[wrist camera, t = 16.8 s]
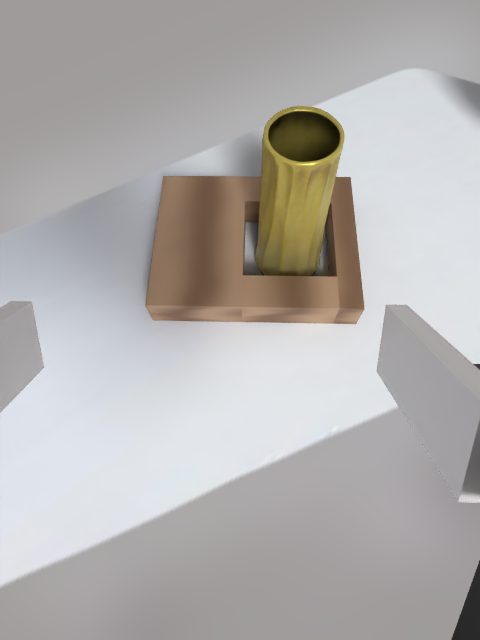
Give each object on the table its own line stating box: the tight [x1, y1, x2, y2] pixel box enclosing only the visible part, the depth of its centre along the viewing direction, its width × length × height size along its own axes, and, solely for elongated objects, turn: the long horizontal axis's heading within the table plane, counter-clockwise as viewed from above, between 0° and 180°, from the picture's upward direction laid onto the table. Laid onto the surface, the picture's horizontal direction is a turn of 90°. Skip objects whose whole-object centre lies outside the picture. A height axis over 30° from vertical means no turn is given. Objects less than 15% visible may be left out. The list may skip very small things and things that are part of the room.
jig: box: [145, 176, 364, 324], centre depth 38 cm, size 18×14×3 cm
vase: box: [255, 106, 344, 276], centre depth 33 cm, size 6×6×14 cm
